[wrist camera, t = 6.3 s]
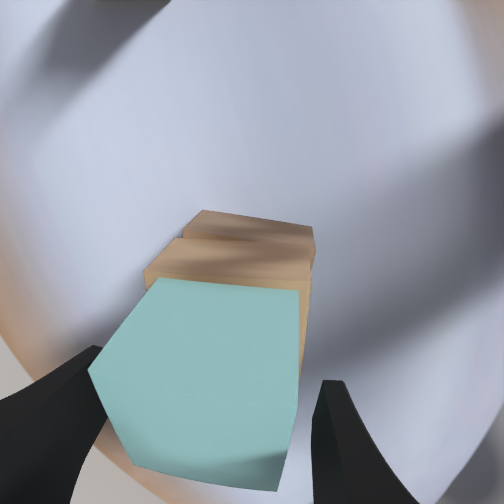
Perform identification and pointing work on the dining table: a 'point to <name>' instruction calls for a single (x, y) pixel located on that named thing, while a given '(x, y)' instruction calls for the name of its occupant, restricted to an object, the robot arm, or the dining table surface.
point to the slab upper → (239, 268)
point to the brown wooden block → (248, 230)
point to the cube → (205, 381)
